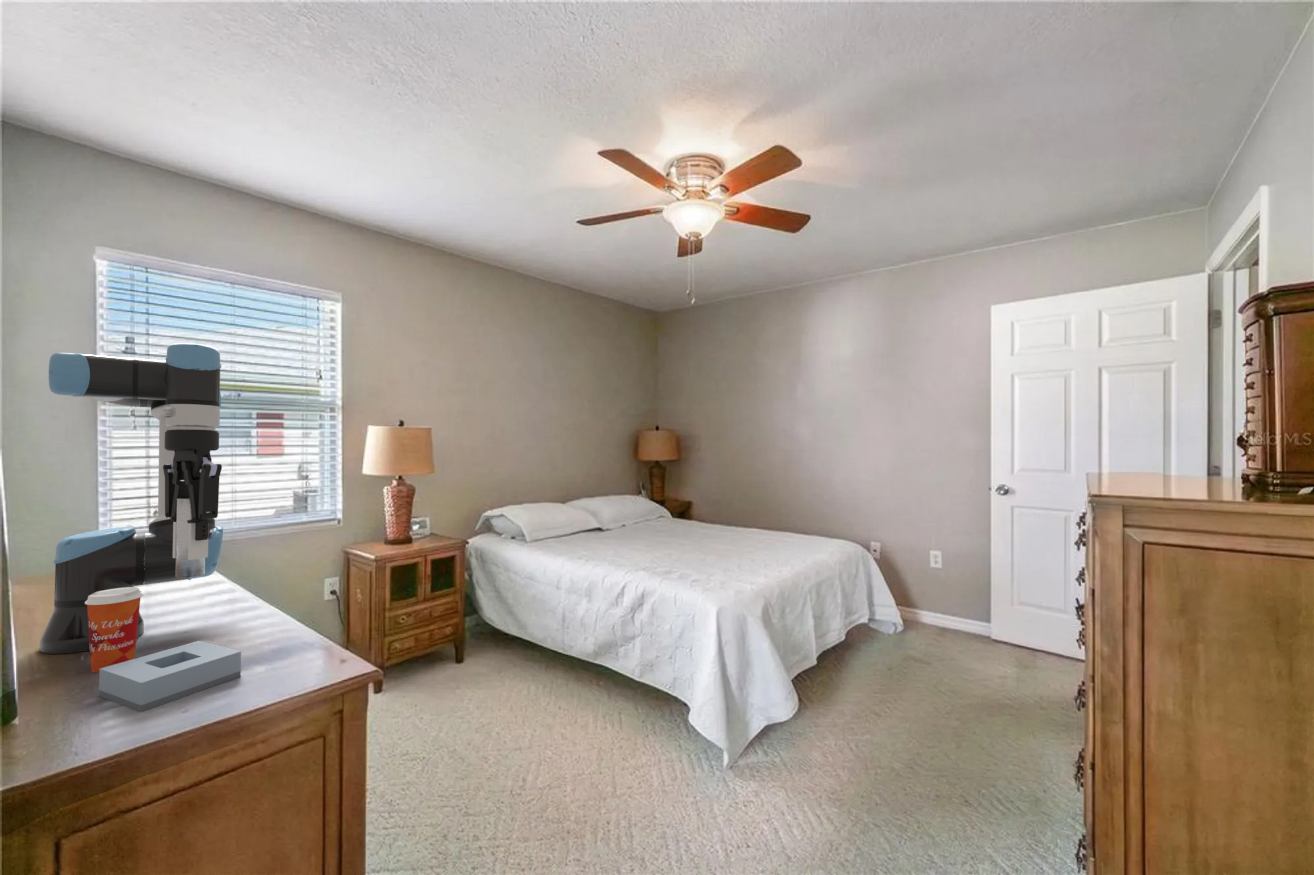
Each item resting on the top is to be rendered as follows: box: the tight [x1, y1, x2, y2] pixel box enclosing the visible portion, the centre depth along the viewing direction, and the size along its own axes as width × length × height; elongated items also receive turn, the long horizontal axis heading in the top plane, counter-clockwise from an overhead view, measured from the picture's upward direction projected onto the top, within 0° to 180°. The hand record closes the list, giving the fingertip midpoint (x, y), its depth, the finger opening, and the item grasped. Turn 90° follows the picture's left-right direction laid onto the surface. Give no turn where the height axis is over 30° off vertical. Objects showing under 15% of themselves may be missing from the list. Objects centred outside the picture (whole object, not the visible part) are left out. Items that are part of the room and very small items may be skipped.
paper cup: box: [85, 586, 145, 673], centre depth 100 cm, size 8×8×14 cm
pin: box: [175, 498, 205, 578], centre depth 97 cm, size 4×4×14 cm
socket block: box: [98, 640, 242, 713], centre depth 92 cm, size 13×14×4 cm
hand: (190, 557), depth 97 cm, fingers closed on pin, 4 cm apart
